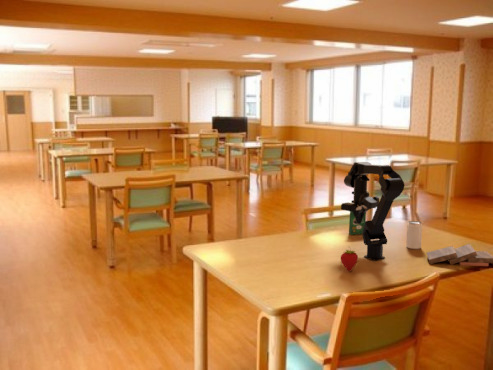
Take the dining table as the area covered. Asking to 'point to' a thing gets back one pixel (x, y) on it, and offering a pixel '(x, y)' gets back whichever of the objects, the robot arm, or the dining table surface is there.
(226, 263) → the dining table surface
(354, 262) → the strawberry
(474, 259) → the tile
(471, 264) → the tile
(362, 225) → the coffee box
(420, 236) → the can
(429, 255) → the tile
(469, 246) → the tile
